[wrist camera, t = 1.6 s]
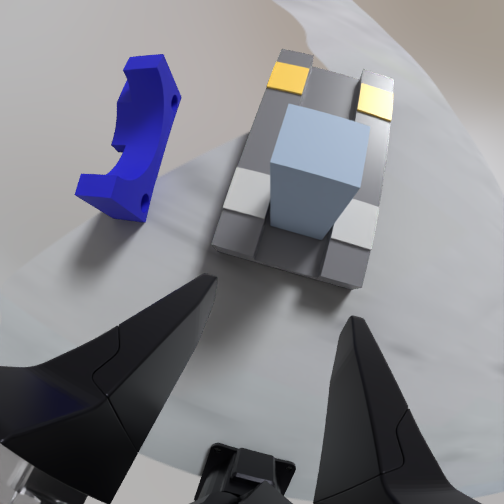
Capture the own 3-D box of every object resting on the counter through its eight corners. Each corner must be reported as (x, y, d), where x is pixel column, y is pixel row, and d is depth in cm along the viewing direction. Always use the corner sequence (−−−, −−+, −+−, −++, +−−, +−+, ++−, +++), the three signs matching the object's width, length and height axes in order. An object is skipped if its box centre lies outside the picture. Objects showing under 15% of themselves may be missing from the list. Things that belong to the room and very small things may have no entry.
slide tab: (321, 240, 21) (360, 187, 11) (270, 225, 21) (270, 162, 12) (331, 200, 21) (370, 126, 12) (282, 186, 22) (288, 103, 12)
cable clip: (138, 98, 26) (114, 59, 20) (181, 97, 25) (163, 54, 19) (99, 217, 24) (58, 193, 18) (146, 223, 23) (110, 198, 17)
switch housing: (351, 289, 21) (362, 287, 19) (217, 251, 22) (210, 243, 20) (385, 95, 24) (394, 77, 21) (281, 67, 25) (281, 47, 22)
